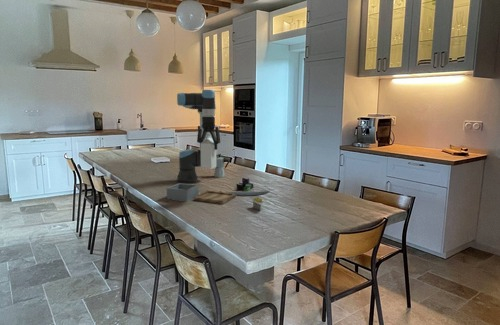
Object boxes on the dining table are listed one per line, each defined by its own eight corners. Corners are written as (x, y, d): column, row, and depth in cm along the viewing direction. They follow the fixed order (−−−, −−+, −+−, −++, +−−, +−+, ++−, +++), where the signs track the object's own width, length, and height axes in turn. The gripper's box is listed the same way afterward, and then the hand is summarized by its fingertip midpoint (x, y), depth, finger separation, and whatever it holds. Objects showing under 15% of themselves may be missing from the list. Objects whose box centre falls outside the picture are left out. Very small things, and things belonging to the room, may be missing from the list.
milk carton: (216, 167, 217) (216, 136, 214) (211, 169, 211) (211, 137, 208) (206, 166, 220) (206, 135, 217) (200, 168, 213) (200, 136, 210)
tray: (193, 200, 214) (193, 197, 214) (207, 193, 230) (207, 190, 230) (223, 204, 207) (223, 200, 207) (235, 196, 223) (235, 193, 223)
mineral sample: (274, 186, 255) (274, 173, 253) (263, 198, 221) (262, 183, 220) (229, 185, 264) (228, 173, 263) (211, 196, 231) (210, 183, 229)
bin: (167, 199, 216) (166, 187, 215) (179, 193, 229) (179, 183, 228) (187, 201, 211) (187, 190, 210) (198, 196, 224) (198, 185, 223)
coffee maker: (209, 176, 281) (209, 154, 278) (214, 174, 289) (214, 152, 286) (226, 178, 276) (226, 155, 273) (231, 176, 284) (231, 154, 281)
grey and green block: (258, 204, 210) (259, 193, 209) (275, 212, 195) (276, 200, 194) (241, 206, 204) (241, 195, 203) (257, 215, 189) (257, 203, 188)
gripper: (190, 116, 211) (191, 154, 214) (220, 116, 203) (220, 156, 207) (197, 115, 217) (197, 152, 221) (226, 116, 210) (226, 154, 214)
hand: (208, 154), depth 214 cm, fingers closed on milk carton, 7 cm apart
